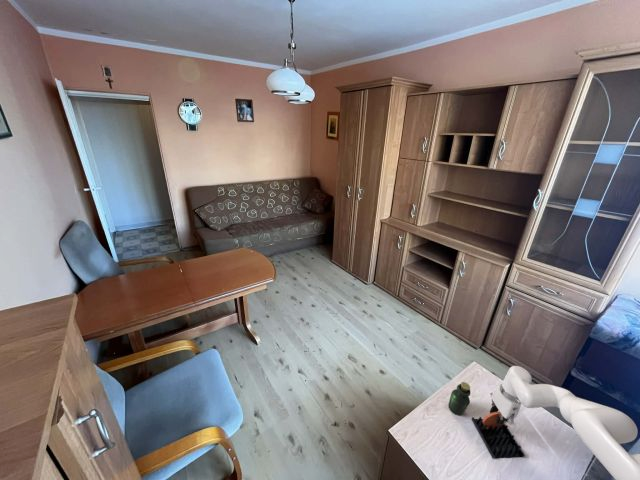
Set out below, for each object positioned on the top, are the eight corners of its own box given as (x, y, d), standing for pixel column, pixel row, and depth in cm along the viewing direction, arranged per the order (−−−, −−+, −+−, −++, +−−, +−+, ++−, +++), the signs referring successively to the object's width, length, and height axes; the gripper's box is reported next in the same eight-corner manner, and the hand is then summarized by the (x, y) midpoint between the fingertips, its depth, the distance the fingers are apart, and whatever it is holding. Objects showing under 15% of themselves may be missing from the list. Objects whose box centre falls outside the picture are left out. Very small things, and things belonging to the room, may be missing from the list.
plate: (502, 428, 122) (511, 413, 117) (480, 429, 121) (488, 414, 116) (501, 426, 123) (510, 411, 118) (478, 427, 122) (486, 411, 117)
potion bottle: (445, 412, 128) (455, 388, 120) (447, 398, 135) (456, 374, 127) (463, 421, 125) (475, 397, 117) (464, 406, 131) (475, 383, 123)
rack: (523, 458, 112) (528, 451, 110) (492, 459, 111) (496, 452, 109) (498, 419, 127) (502, 412, 124) (470, 419, 126) (474, 413, 123)
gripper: (534, 411, 104) (517, 437, 112) (505, 373, 118) (492, 399, 127) (516, 412, 103) (500, 438, 111) (489, 374, 118) (477, 399, 126)
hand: (496, 417), depth 119 cm, fingers open, 3 cm apart
